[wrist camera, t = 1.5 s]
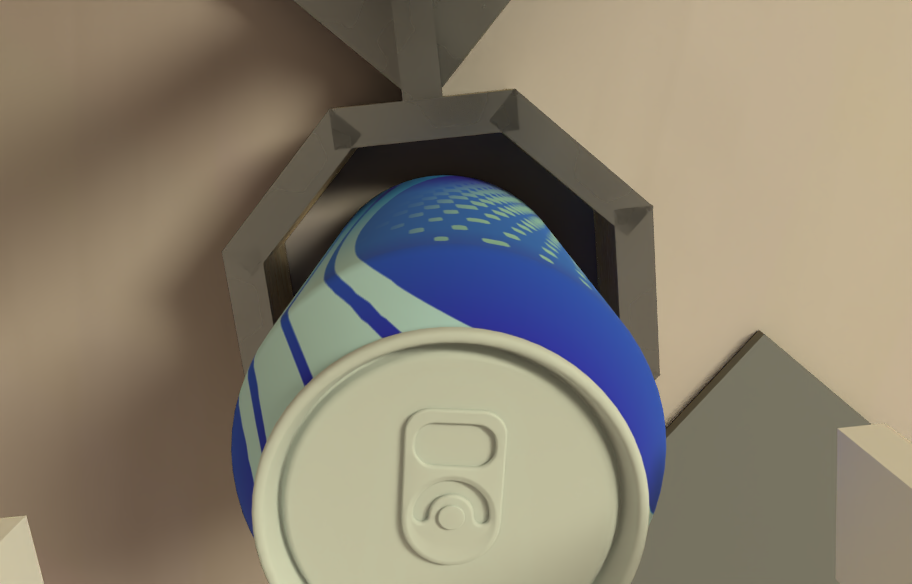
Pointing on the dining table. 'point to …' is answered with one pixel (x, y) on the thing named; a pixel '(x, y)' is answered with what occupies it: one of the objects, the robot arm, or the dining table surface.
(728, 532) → the rubber mat
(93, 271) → the dining table surface
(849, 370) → the dining table surface
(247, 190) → the dining table surface
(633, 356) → the beer can
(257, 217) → the ring stand
